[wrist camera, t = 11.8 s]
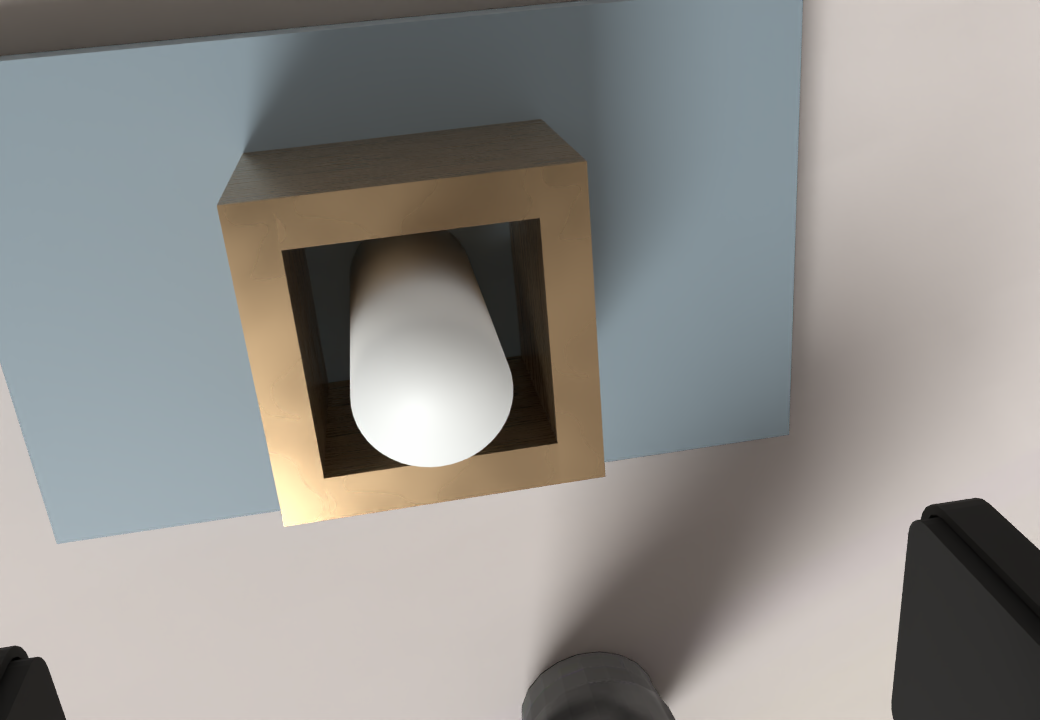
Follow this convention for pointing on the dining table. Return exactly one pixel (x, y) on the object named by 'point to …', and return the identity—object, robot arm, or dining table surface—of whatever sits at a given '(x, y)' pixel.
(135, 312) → the post board
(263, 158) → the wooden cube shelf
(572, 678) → the beverage cup
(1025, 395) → the dining table surface
